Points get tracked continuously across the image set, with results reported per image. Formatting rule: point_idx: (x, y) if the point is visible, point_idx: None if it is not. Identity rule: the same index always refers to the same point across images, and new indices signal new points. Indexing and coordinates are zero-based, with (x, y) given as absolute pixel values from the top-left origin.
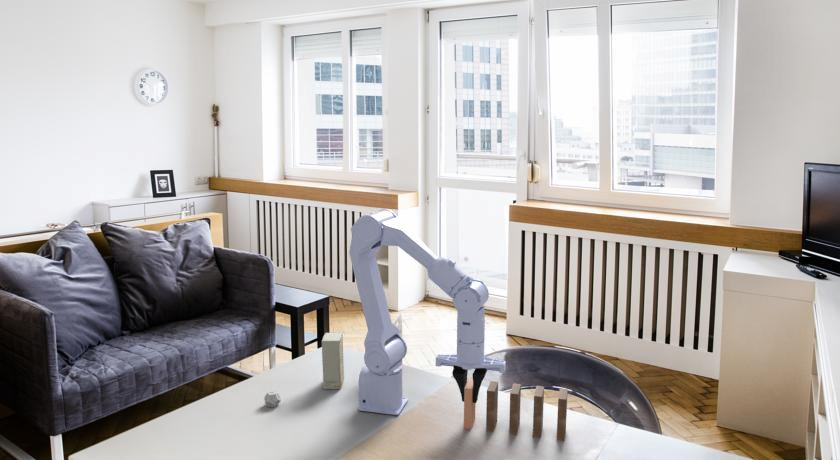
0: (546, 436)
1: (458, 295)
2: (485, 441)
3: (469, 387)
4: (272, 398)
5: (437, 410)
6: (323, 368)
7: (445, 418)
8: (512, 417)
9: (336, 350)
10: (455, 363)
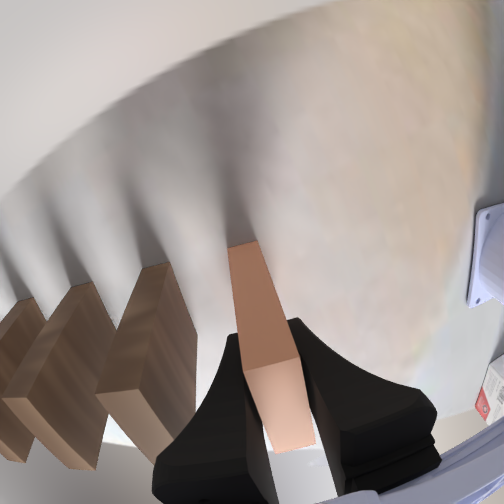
0: None
1: None
2: (133, 188)
3: (269, 380)
4: None
5: (385, 304)
6: None
7: (347, 272)
8: (59, 320)
9: None
10: (451, 488)
